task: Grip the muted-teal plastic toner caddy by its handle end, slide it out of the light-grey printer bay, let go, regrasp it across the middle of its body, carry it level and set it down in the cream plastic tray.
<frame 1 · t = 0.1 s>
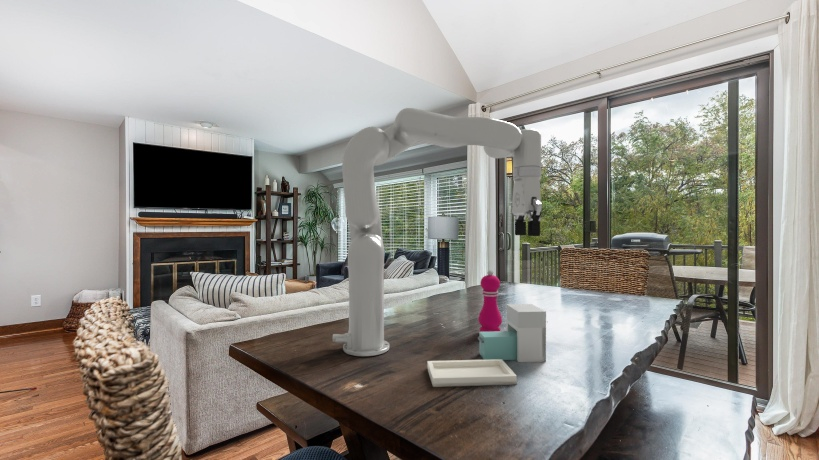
hand: (526, 235, 104), 31 cm above the table, fingers open, 9 cm apart
tray: (469, 376, 83), on the table
printer bay: (525, 355, 97), on the table
caddy: (506, 356, 96), on the table
pepper mill: (490, 334, 116), on the table
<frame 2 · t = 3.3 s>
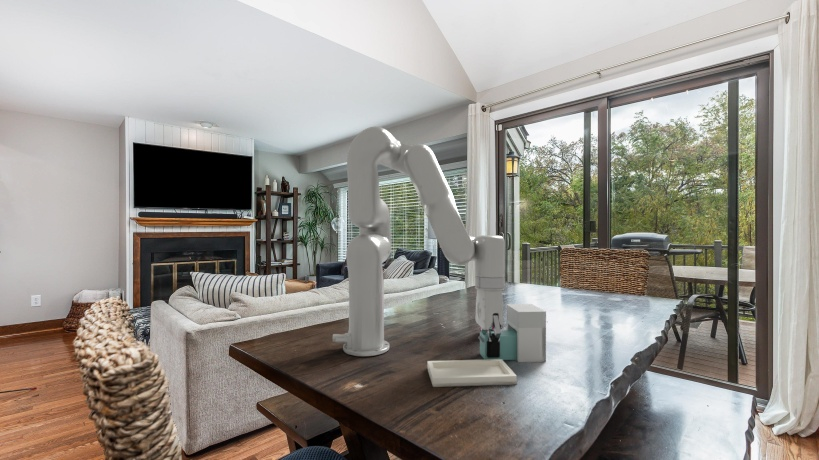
hand: (489, 352, 96), 1 cm above the table, fingers closed on caddy, 5 cm apart
caddy: (506, 356, 96), on the table, touching gripper
everything else where it was.
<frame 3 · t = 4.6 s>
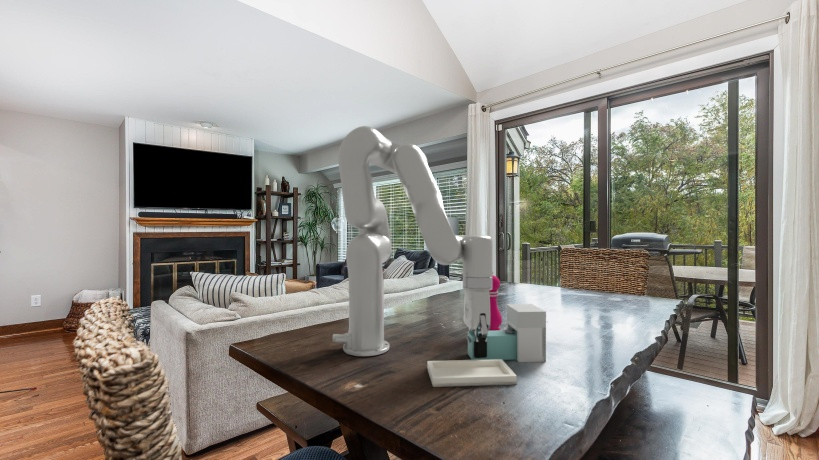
hand: (477, 352, 96), 1 cm above the table, fingers closed on caddy, 5 cm apart
caddy: (494, 356, 96), on the table, touching gripper
everything else where it was.
when the fingers open (1 cm above the table, at t = 6.0 s): caddy stays where it is, on the table.
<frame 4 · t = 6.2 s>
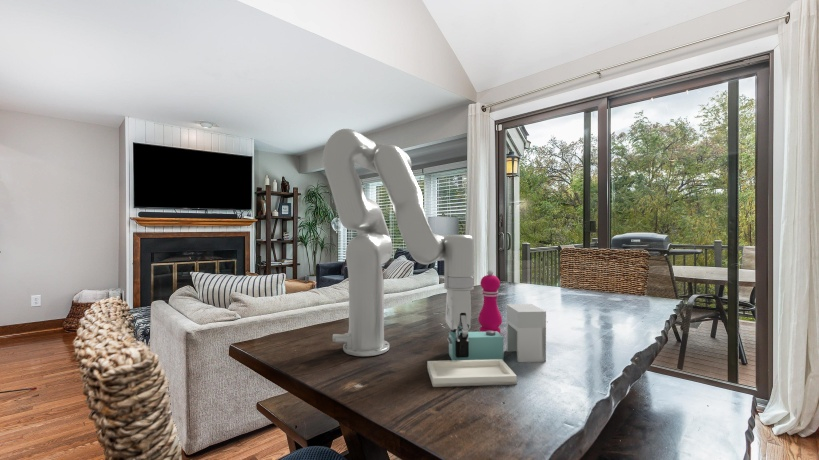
hand: (458, 351, 95), 2 cm above the table, fingers open, 7 cm apart
caddy: (475, 357, 96), on the table
everything else where it was.
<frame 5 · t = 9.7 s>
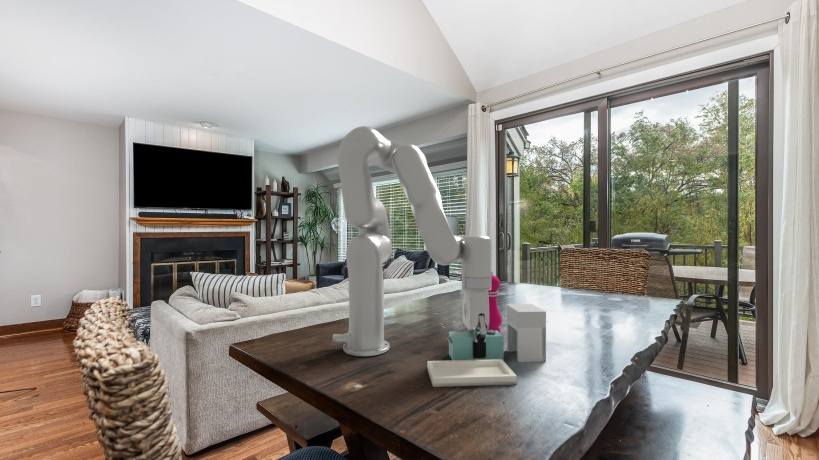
hand: (476, 352, 96), 1 cm above the table, fingers closed on caddy, 5 cm apart
caddy: (475, 357, 96), on the table, touching gripper
everything else where it was.
when the fingers open (3 cm above the table, at t = 15.3 s): caddy drops 1 cm, resting on tray.
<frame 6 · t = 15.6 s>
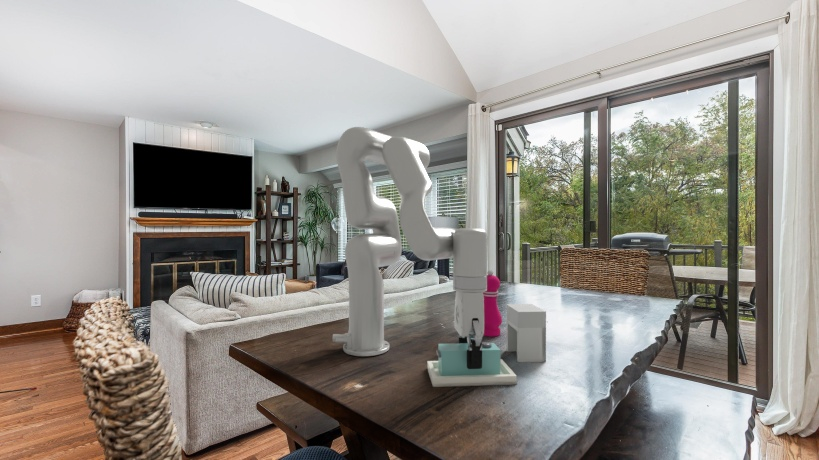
hand: (469, 360, 83), 3 cm above the table, fingers open, 8 cm apart
caddy: (468, 373, 83), point 1 cm above the table, touching tray
everything else where it was.
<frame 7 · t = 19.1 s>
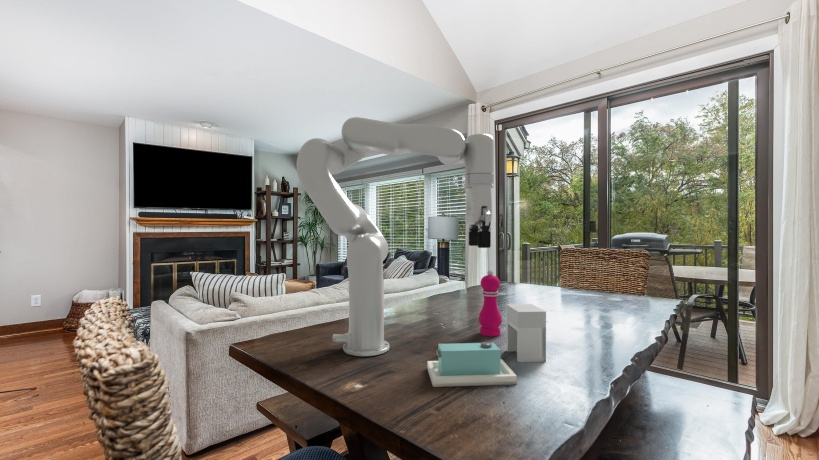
hand: (479, 246, 99), 28 cm above the table, fingers open, 9 cm apart
nothing on the table moved.
at the end: caddy 0.2 cm off-centre on the tray, point 0.6 cm above the tray's base; caddy tilted 0°; the gripper is holding nothing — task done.
